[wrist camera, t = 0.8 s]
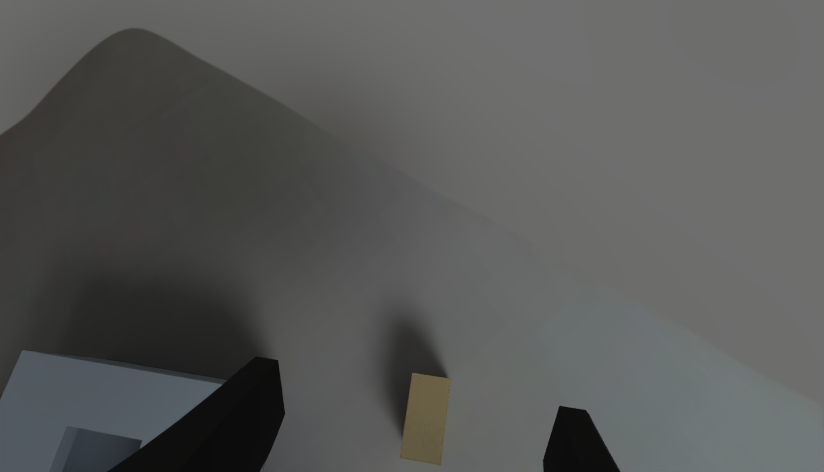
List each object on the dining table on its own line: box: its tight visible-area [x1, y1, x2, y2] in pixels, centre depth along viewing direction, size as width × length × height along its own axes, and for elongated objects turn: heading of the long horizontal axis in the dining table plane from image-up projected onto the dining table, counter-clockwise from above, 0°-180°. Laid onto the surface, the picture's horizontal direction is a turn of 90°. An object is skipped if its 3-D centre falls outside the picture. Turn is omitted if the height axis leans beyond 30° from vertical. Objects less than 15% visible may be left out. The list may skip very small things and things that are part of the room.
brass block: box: [400, 373, 451, 465], centre depth 23 cm, size 4×2×4 cm, turn 171°
